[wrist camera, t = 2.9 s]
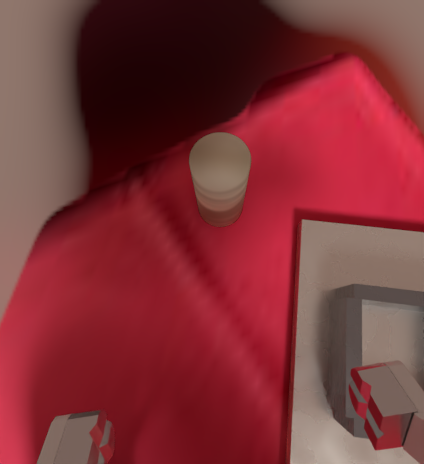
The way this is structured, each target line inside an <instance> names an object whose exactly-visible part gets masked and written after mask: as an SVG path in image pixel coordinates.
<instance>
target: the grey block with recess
mask: <svg viewBox="0 0 424 464" xmlns="http://www.w3.org/2000/svg"><path fill="white" fill-rule="evenodd" d="M395 360H399V361H401V362H402V363H403V364H404V365H405V367H406V368H407V369H408V371H409V372H410V373H411V375H412V376H413V378H414V379H415V380H416V382H417V383H418V384H419V386H420V387H421V388H422V390H423V391H424V232H416V231H406V230H397V229H387V228H378V227H369V226H359V225H350V224H341V223H331V222H322V221H312V220H303V219H302V220H301V221H300V223H299V224H298V231H297V250H296V269H295V288H294V307H293V326H292V345H291V364H290V383H289V402H288V421H287V440H286V459H285V464H420V463H418V462H417V461H416V460H415V459H414V458H413V457H412V456H411V455H409V454H408V453H407V452H406V451H405V450H404V449H403V447H398V448H391V449H383V450H376V451H375V449H374V447H373V445H372V443H371V441H370V439H369V437H368V435H367V433H366V431H365V429H364V423H365V420H364V419H363V418H362V417H360V416H359V415H358V414H357V413H356V411H355V409H354V407H353V405H352V402H351V399H350V395H349V383H350V382H351V381H352V380H353V379H352V377H351V375H350V373H351V369H352V368H354V367H359V366H365V365H370V364H376V363H381V362H382V363H383V362H389V361H395Z"/></svg>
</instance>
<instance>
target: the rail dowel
mask: <svg viewBox="0 0 424 464" xmlns="http://www.w3.org/2000/svg"><path fill="white" fill-rule="evenodd" d="M189 165H190V170H191V175H192V180H193V185H194V190H195V194H196V199H197V204H198V209H199V213H200V215H201V217H202V218H203V220H204V221H205V222H207V223H208V224H210V225H212V226H216V227H225V226H228V225H231V224H232V223H234V222H235V221H236V220H237V219H238V218H239V216H240V215H241V212H242V208H243V203H244V197H245V192H246V187H247V182H248V176H249V171H250V166H251V155H250V151H249V149H248V147H247V145H246V144H245V143H244V142H243V141H242V140H241V139H240V138H238V137H236V136H235V135H232V134H229V133H224V132H218V133H212V134H208V135H206V136H204V137H202V138H201V139H200V140H198V141H197V142H196V143H195V145H194V146H193V148H192V150H191V152H190V156H189Z"/></svg>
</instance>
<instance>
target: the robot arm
mask: <svg viewBox="0 0 424 464" xmlns="http://www.w3.org/2000/svg"><path fill="white" fill-rule="evenodd" d="M350 375H351V377H352V379H353V380H352V381H351V382H350V383H349V395H350V399H351V402H352V405H353V407H354V409H355V411H356V413H357V414H358V415H359V416H360V417H362V418H363V419H364V420H365V423H364V429H365V431H366V433H367V435H368V437H369V439H370V441H371V443H372V445H373V447H374V449H375V451H376V450H383V449H391V448H398V447H403V449H404V450H405V451H406V452H407V453H408V454H409V455H411V456H412V457H413V458H414V459H415V460H416V461H417V462H418V463H420V464H424V391H423V390H422V388H421V387H420V386H419V384H418V383H417V382H416V380H415V379H414V378H413V376H412V375H411V373H410V372H409V371H408V369H407V368H406V367H405V365H404V364H403V363H402V362H401V361H399V360H395V361H389V362H383V363H382V362H381V363H376V364H370V365H365V366H359V367H354V368H352V369H351V373H350ZM106 419H107V413H106V411H105V410H104V409H100V410H94V411H88V412H81V413H75V414H67V415H61V416H56V417H55V418H54V420H53V421H52V423H51V425H50V428H49V431H48V433H47V436H46V439H45V442H44V444H43V447H42V450H41V453H40V456H39V458H38V461H37V464H108V463H107V462H108V461H109V460H110V458H111V457H112V455H113V454H114V447H115V431H114V426H113V424H112V422H110V421H108V420H106Z"/></svg>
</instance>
